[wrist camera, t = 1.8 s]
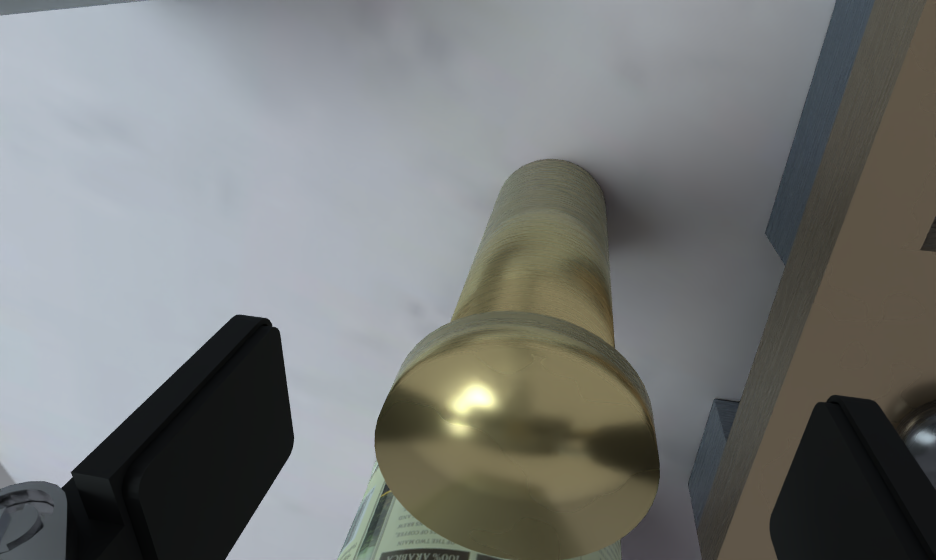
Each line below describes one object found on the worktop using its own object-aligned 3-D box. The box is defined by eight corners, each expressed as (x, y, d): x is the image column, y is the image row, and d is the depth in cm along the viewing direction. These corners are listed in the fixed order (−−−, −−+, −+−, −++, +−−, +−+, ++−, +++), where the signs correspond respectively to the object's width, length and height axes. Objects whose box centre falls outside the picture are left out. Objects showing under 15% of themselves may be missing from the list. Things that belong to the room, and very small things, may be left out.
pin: (482, 135, 17) (367, 331, 8) (635, 148, 16) (689, 374, 7) (477, 267, 19) (380, 536, 10) (611, 282, 18) (632, 582, 9)
